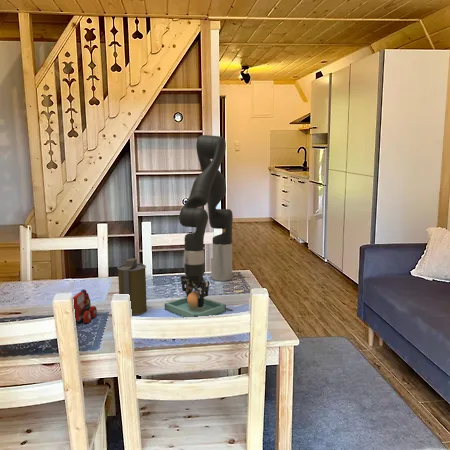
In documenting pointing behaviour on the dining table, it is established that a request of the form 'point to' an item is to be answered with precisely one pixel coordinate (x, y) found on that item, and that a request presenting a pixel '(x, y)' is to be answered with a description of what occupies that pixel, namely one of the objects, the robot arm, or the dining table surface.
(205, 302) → the tray
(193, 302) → the ball
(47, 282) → the dining table surface
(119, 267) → the canister
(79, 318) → the toy fire truck
